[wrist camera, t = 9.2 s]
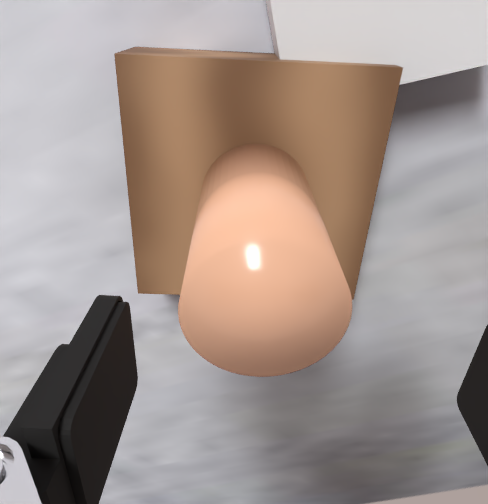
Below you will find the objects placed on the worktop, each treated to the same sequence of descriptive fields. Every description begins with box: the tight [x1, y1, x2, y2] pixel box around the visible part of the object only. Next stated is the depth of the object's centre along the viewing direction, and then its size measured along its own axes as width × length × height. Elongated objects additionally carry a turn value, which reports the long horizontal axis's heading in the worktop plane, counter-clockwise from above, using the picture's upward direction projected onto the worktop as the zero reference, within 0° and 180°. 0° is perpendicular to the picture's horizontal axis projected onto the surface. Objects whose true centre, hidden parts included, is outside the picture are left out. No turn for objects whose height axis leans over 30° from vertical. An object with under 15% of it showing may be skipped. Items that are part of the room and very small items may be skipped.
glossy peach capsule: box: [178, 144, 352, 377], centre depth 16 cm, size 5×5×9 cm
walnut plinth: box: [115, 47, 403, 299], centre depth 22 cm, size 12×12×4 cm
